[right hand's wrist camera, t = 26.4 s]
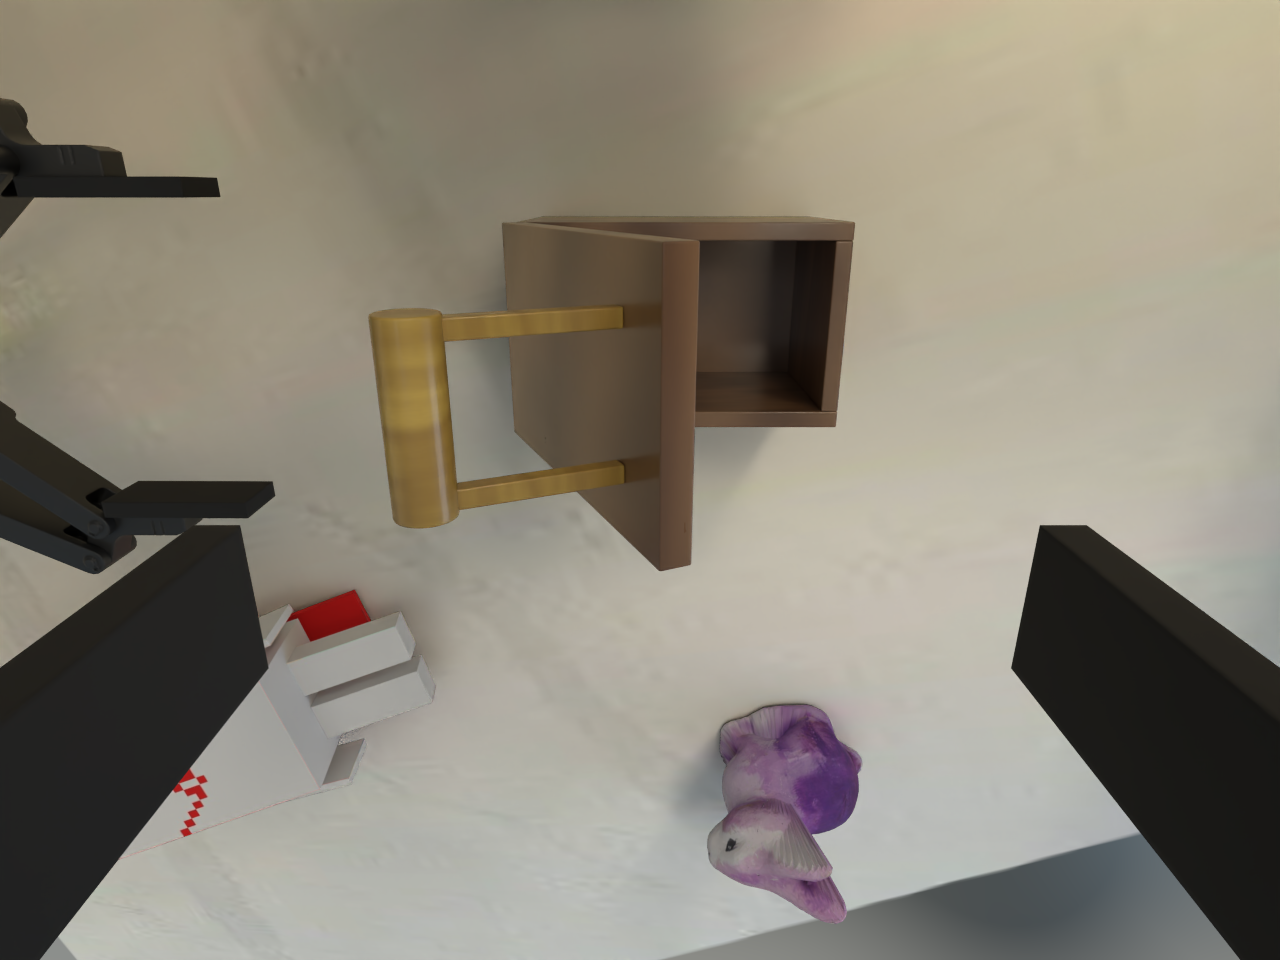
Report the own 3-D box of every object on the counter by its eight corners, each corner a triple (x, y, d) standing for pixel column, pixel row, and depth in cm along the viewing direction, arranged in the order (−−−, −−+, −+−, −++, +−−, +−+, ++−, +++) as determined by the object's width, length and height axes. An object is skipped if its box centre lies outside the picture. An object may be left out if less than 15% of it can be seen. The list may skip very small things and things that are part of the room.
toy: (439, 778, 49) (-14, 936, 48) (459, 666, 61) (101, 790, 61) (361, 620, 45) (-135, 790, 44) (399, 535, 57) (14, 666, 57)
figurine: (685, 747, 60) (700, 917, 46) (786, 671, 57) (834, 826, 43) (763, 815, 62) (799, 997, 48) (863, 746, 60) (932, 915, 46)
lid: (700, 240, 21) (372, 248, 18) (691, 565, 25) (416, 624, 22) (526, 222, 36) (326, 225, 32) (536, 429, 39) (356, 451, 36)
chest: (809, 216, 46) (855, 222, 36) (797, 381, 50) (835, 427, 40) (542, 216, 46) (516, 221, 36) (549, 381, 50) (527, 427, 40)
